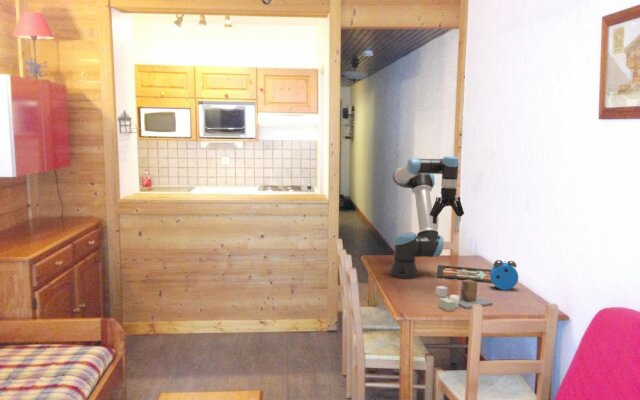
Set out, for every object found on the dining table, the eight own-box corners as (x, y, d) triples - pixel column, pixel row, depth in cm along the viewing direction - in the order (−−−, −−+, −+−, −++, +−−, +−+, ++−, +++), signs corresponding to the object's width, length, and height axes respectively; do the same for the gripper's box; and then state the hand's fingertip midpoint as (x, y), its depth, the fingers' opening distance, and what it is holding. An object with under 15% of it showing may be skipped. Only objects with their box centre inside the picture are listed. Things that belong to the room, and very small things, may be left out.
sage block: (439, 307, 245) (439, 298, 244) (446, 306, 246) (446, 297, 246) (447, 311, 239) (448, 302, 239) (454, 310, 241) (455, 301, 241)
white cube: (435, 294, 263) (436, 287, 262) (440, 293, 266) (440, 285, 265) (442, 297, 260) (442, 289, 260) (447, 295, 263) (447, 287, 262)
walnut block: (460, 298, 254) (461, 280, 253) (468, 297, 257) (469, 279, 255) (467, 302, 250) (469, 283, 249) (476, 300, 252) (477, 282, 251)
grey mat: (443, 298, 257) (443, 296, 257) (468, 295, 264) (468, 293, 264) (466, 309, 243) (466, 306, 243) (492, 304, 250) (492, 302, 250)
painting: (436, 268, 320) (436, 264, 320) (497, 273, 313) (497, 269, 313) (436, 279, 293) (437, 275, 293) (503, 285, 286) (504, 280, 286)
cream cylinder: (447, 305, 247) (448, 295, 246) (454, 304, 249) (455, 294, 248) (453, 308, 243) (454, 297, 243) (460, 307, 245) (461, 296, 245)
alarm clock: (514, 287, 280) (516, 259, 278) (517, 291, 274) (520, 262, 272) (488, 286, 281) (490, 258, 279) (491, 289, 275) (493, 261, 273)
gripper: (433, 188, 259) (431, 231, 262) (473, 187, 270) (470, 229, 273) (424, 187, 265) (421, 229, 268) (462, 186, 277) (460, 226, 279)
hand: (446, 229), depth 270 cm, fingers open, 13 cm apart
